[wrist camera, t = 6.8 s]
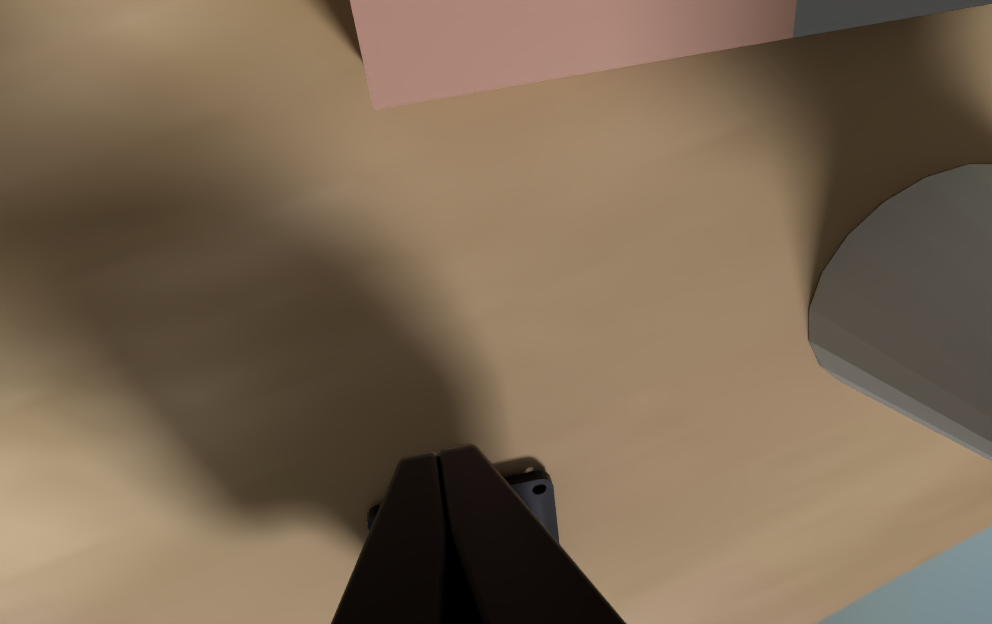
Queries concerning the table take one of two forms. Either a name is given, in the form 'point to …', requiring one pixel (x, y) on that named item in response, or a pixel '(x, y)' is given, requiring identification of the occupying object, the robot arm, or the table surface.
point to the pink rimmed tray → (578, 36)
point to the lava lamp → (917, 306)
